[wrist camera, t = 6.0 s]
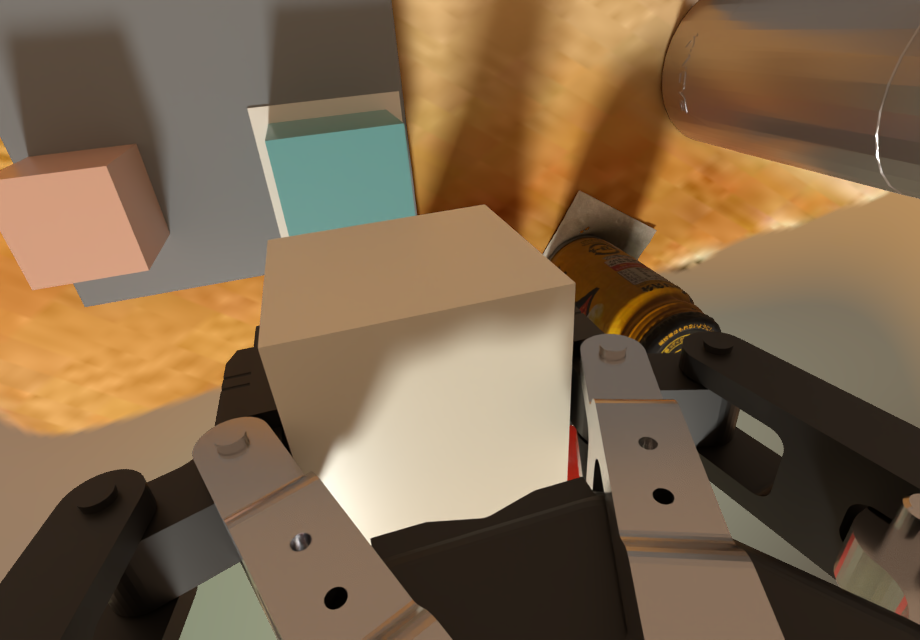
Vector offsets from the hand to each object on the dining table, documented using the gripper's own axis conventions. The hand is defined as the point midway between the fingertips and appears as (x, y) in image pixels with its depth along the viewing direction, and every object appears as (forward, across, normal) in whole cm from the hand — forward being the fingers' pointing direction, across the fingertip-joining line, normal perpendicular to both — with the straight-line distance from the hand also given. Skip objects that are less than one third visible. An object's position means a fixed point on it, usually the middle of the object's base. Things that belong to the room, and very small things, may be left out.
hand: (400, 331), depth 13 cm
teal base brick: (+18, 0, 0) cm, 18 cm away
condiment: (+19, -16, +9) cm, 27 cm away
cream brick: (+1, 0, 0) cm, 1 cm away
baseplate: (+19, +5, -2) cm, 20 cm away
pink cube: (+18, +12, 0) cm, 21 cm away
